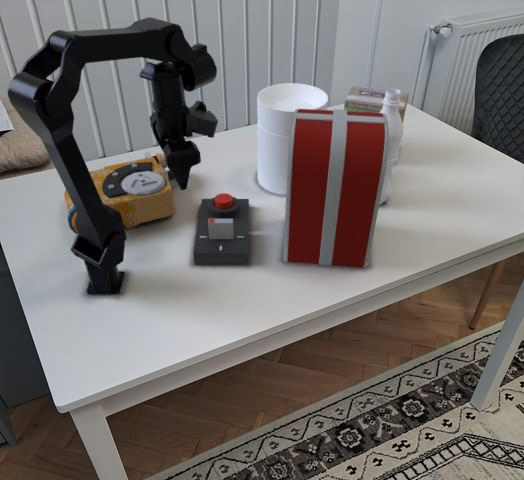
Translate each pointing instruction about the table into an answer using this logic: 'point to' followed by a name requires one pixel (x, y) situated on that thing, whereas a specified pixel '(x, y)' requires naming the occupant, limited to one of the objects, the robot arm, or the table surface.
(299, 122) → the wrapped gift box
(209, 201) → the button block
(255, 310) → the table surface
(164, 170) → the device
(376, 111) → the tea box
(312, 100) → the canister
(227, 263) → the panel
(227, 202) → the power button
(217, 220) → the grey rectangular block
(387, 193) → the water bottle
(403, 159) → the table surface
